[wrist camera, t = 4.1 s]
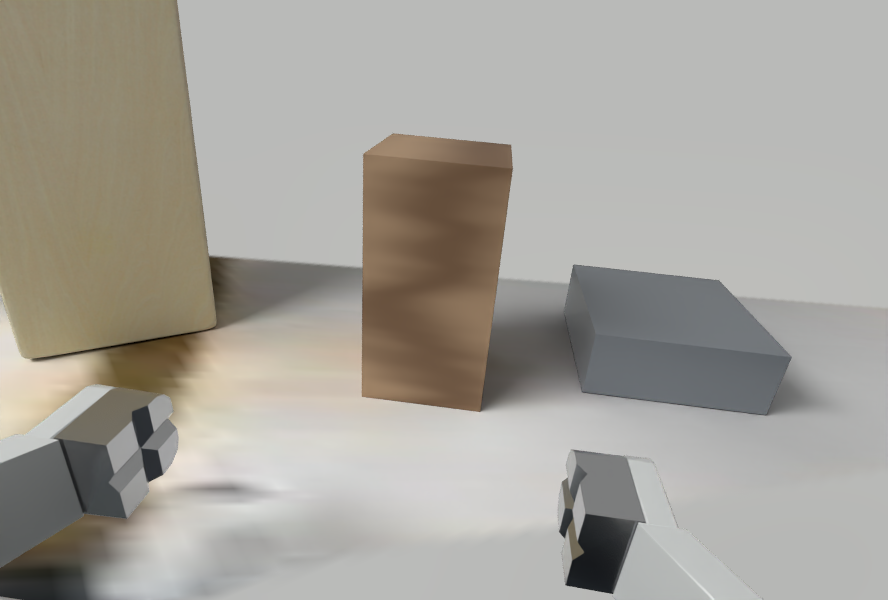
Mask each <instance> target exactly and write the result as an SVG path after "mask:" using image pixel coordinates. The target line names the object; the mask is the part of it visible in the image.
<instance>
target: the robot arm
mask: <svg viewBox="0 0 888 600" xmlns="http://www.w3.org/2000/svg"><path fill="white" fill-rule="evenodd" d="M172 412H173V407H172V403H171V399H170V398H169V397H167V396H165V395H164V394H157V393H151V392H145V391H139V390H132V389H126V388H120V387H119V388H116V387H110V386H104V385H98V384H95V385H91V386H87V387H86V388H84V389H83V390H82V391H80V392H79V393H78V394H77V395H75V396H74V397H73V398H71V399H70V400H69V401H68V402H66V403H65V404H64V405H63V406H61V407H60V408H59V409H57V410H56V411H55V412H54V413H52V414H51V415H50V416H48V417H47V418H46V419H45V420H43V421H42V422H41V423H39V424H38V425H37V426H36V427H34V428H33V429H32V430H31V431H29V432H28V433H27V434H25V435H21V434H16V435H13V436H10V437H8V438H5V439H2V440H0V567H2V566H3V565H5V564H7V563H8V562H10V561H12V560H13V559H15V558H16V557H18V556H20V555H21V554H23V553H25V552H26V551H28V550H29V549H31V548H33V547H34V546H36V545H37V544H39V543H41V542H42V541H44V540H46V539H47V538H49V537H50V536H52V535H54V534H55V533H57V532H59V531H60V530H62V529H63V528H65V527H67V526H68V525H70V524H72V523H73V522H75V521H76V520H78V519H80V518H81V517H83V516H84V514H92V515H100V516H108V517H116V518H125V519H127V518H128V517H129V516H130V514H131V513H132V512H133V511H134V510H135V508H136V507H137V506H138V505H139V504H140V502H141V501H142V500H143V499H144V497H145V496H146V495H147V494H148V493H149V482H150V481H152V480H154V479H156V478H158V477H159V476H161V475H163V474H164V473H165V472H166V470H167V469H168V468H169V467H170V465H171V464H172V462H173V460H174V457H175V455H176V452H177V450H178V439H179V438H178V432H177V428H176V427H175V426H174V425H173V424H172V423H171V422H170V420H169V419H168V418H169V417H170V415H171V414H172ZM566 468H567V476H568V478H567V479H565V480H564V481H563V482H562V484H561V489H560V493H559V502H558V525H559V532H560V534H561V535H562V536H563V537H564V538H565V541H564V545H563V549H562V560H563V569H564V577H565V585H567V586H572V587H577V588H583V589H589V590H594V591H599V592H605V593H611V594H613V598H614V599H615V600H763V599H762V598H761V597H760V596H759V595H757V593H755V592H754V591H753V590H752V589H751V588H750V587H749V586H748V585H747V584H746V583H745V582H743V581H742V580H741V579H740V578H739V577H738V576H737V575H736V574H735V573H734V572H733V571H732V570H730V569H729V568H728V567H727V566H726V565H725V564H724V563H723V562H722V561H721V560H720V559H719V558H717V557H716V556H715V555H714V554H713V553H712V552H711V551H710V550H709V549H708V548H706V547H705V546H704V545H703V544H702V543H701V542H700V541H699V540H698V539H697V538H696V537H695V536H694V535H692V534H691V533H690V532H689V531H688V530H687V529H680V528H678V525H677V522H676V520H675V517H674V514H673V512H672V509H671V506H670V504H669V501H668V498H667V496H666V493H665V490H664V488H663V485H662V482H661V480H660V477H659V474H658V472H657V469H656V466H655V464H654V462H653V461H652V460H651V459H649V458H640V457H631V456H619V455H611V454H603V453H595V452H587V451H579V450H572V449H571V451H570V453H569V455H568V459H567V463H566ZM0 600H18V599H12V598H6V597H0Z"/></svg>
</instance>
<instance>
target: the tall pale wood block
mask: <svg viewBox="0 0 888 600" xmlns="http://www.w3.org/2000/svg"><path fill="white" fill-rule="evenodd" d="M0 294H1V297H2V300H3V303H4V306H5V309H6V313H7V316H8V319H9V322H10V325H11V328H12V331H13V334H14V337H15V340H16V343H17V346H18V349H19V352H20V354H21V356H22V357H24V358H27V359H30V358H40V357H47V356H54V355H60V354H66V353H71V352H77V351H83V350H89V349H95V348H102V347H107V346H113V345H119V344H125V343H131V342H137V341H143V340H148V339H154V338H160V337H166V336H172V335H178V334H183V333H190V332H196V331H201V330H206V329H210V328H212V327H215V326H216V310H215V302H214V294H213V286H212V279H211V270H210V261H209V254H208V246H207V238H206V229H205V221H204V213H203V205H202V197H201V189H200V181H199V174H198V165H197V157H196V150H195V143H194V135H193V127H192V117H191V108H190V101H189V93H188V85H187V78H186V70H185V62H184V55H183V46H182V37H181V30H180V22H179V13H178V5H177V0H0Z"/></svg>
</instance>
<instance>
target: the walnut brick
mask: <svg viewBox="0 0 888 600" xmlns="http://www.w3.org/2000/svg"><path fill="white" fill-rule="evenodd" d="M512 170H513V166H512V152H511V145H507V144H496V143H486V142H476V141H466V140H455V139H444V138H434V137H424V136H414V135H403V134H392V135H390V136H389V137H387V138H386V139H384V140H383V141H381V142H380V143H379V144H377V145H376V146H374V147H373V148H371V149H370V150H368V151H367V152H365V153H364V155H363V295H362V397H370V398H378V399H385V400H393V401H401V402H408V403H416V404H424V405H431V406H439V407H447V408H454V409H462V410H470V411H477V412H480V409H481V401H482V394H483V386H484V379H485V371H486V364H487V356H488V349H489V342H490V334H491V327H492V319H493V312H494V304H495V297H496V289H497V282H498V274H499V267H500V259H501V252H502V245H503V237H504V230H505V222H506V215H507V207H508V199H509V192H510V185H511V177H512Z"/></svg>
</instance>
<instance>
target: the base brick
mask: <svg viewBox="0 0 888 600" xmlns="http://www.w3.org/2000/svg"><path fill="white" fill-rule="evenodd" d="M564 314H565V318H566V323H567V327H568V332H569V336H570V340H571V345H572V349H573V354H574V358H575V362H576V367H577V371H578V376H579V380H580V384H581V389H582V392H587V393H595V394H603V395H611V396H619V397H627V398H635V399H643V400H651V401H659V402H667V403H674V404H682V405H690V406H698V407H706V408H714V409H722V410H730V411H738V412H746V413H754V414H762V415H766V414H767V412H768V410H769V407H770V405H771V403H772V401H773V398H774V396H775V394H776V392H777V389H778V387H779V385H780V382H781V380H782V378H783V376H784V373H785V371H786V369H787V367H788V364H789V362H790V360H791V358H792V357H791V356H790V355H789V354H788V353H787V352H786V351H785V350H784V349H783V347H782V346H781V345H780V344H779V343H778V342H777V341H776V340H775V339H774V338H773V337H772V336H771V335H770V334H769V333H768V332H767V331H766V330H765V328H764V327H763V326H762V325H761V324H760V323H759V322H758V321H757V320H756V319H755V318H754V317H753V316H752V315H751V314H750V313H749V312H748V311H747V310H746V308H745V307H744V306H743V305H742V304H741V303H740V302H739V301H738V300H737V299H736V298H735V297H734V296H733V295H732V294H731V293H730V292H729V291H728V289H727V288H726V287H724V285H723V284H722V283H721V282H720V281H719V280H710V279H701V278H692V277H682V276H673V275H664V274H655V273H646V272H637V271H627V270H619V269H610V268H600V267H591V266H582V265H573V269H572V274H571V279H570V284H569V289H568V294H567V299H566V304H565V309H564Z"/></svg>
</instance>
